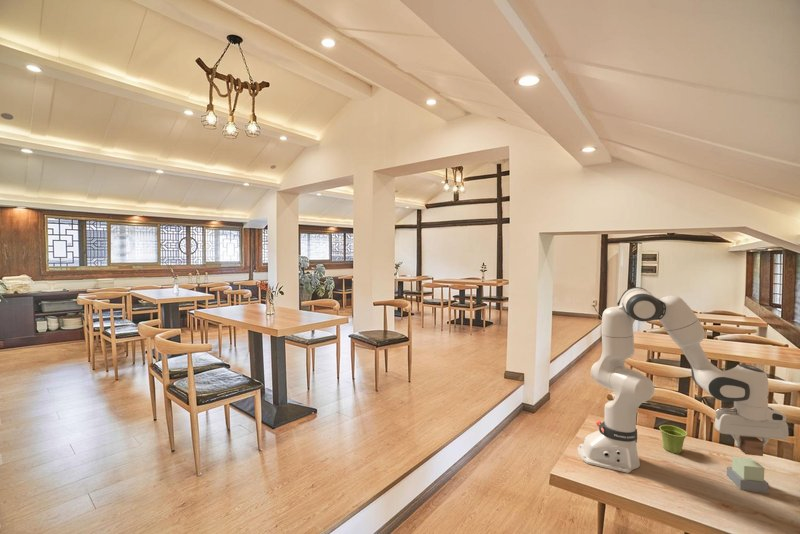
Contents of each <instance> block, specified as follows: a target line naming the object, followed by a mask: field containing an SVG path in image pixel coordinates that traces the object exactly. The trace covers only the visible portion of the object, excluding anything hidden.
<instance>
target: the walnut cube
mask: <svg viewBox="0 0 800 534" xmlns="http://www.w3.org/2000/svg"><path fill="white" fill-rule="evenodd" d="M738 440H740V441H741V442H742V443H743V447H738V446H736V447H737V448H738V449H739V450H740V451H741V452H742V453H743V454H745V455H749V456H758V457H764V449H763V442H762V441H761V439H759V437H751V436H740V435H739V438H738Z"/></svg>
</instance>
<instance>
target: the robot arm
mask: <svg viewBox="0 0 800 534" xmlns="http://www.w3.org/2000/svg"><path fill="white" fill-rule="evenodd" d="M616 305H617V306H610V307H607V308H605V309H604V311H603V312H602V316H601V326H600V327H601V348H602V349H601V354H600V355H601V356H600V358H599V359H598V360H597V361H595V362H594V363H593V364H592V366H591V367H590V376H591V378H592V380H594V382H596V383H597V384H598V385H600V386H602V387H603V388H605V389H608V390H610V391H611V392H614V399H611V400H608V401H607V402H606V403H605V405H604V417H603V418H604V421H603V422H601V420H599V419H597V420H595V424H596V426H597V427H598V430H595V431H593V432H591V433H589V434H587V435H586V436H585V438H584V440H583V443H579V445H578V446H577V453H578V456H579V457H580V458H581V460H582V461H583V462H585V463H586V464H587V465H592V466H597V467H601V468H605V469H609V470H613V471H619V472H624V473H627V474H629V473H631V472H632V471H633V470H636V469H639V468H640V466H641V461H640V459H639V453H638V448H637V442H638V429H637V415H638V414H637V413H638V409H639V407H640V406H641V404H643V403H646V402H647V401H650V400H651V398H653V396H654V394H655V385H654V382H653V381H652V380H651V379H650V378H649V377H647V376H646V375H644V374H643V373H641V372H638V371H635V370H633V369H630V368H628V367H626V365H625V360H626V359H627V360H628V359H629V358H631V357H633V355H634V353H635V339H634V322H635V321H638V322H642V323H643V322H645V323H646V322H650V321H651V322H652V321H659V322H660V324H661V325H662V327H663V329H664V330H665V331H666V333H667V334H668V336H669V337H670V339H671V340H672V341H673V342H674V343H675V344H676V345H677V346H678V347H679V348H680V350H681V352H682V354H683V356H684V357H685V359H686V361H687V362H688V364H689V366H690V371H691V377H692V380H693V382H694V383H695V385H697V386H698V387H699V388H701V389H703V390H704V391H705V392H707V393H708V394H709V395H711V397H713V398H715V399H716V400H718V401H722V402H733V408H730V407H729V408H728V407H727V408H725V407H719V408H718V409H717V410H715V419H714V429H716V431H717V432H718V433H720V434H722V435H730V436H731V437H732V438H733V439H734V445H735V447H737V446H738V447H743V443H742V442H741V441H740V440H738V438H739V435H740V436H751V437H757V438H760V440H761V441H762V442H763V450H765V449H766V445H767V444H768V443H770V442H769V441H770V439H771V440H772V439H773V440H783V441H784V440H787V439H788V437H789V427H788V426H789V425H788V423H787V422H786V421H787V416H786V414H784V413H782V412H781V411H779V410H777V409H776V408H773V407H771V406H769V403H768V396H769V390H770V388H769V379H768V375H767V373H766V372H765V370H762V369H760V368H758V367H755V366H753V365H750V364H744V363H742V364H737V365H736V366H735V367H732V368H729V369H728V370H727V369H726V370H722V369H720V367H717V365H715V364H714V363H712V362H711V361H710V360H709V358H708V356H707V354H706V352H705V351H704V350H703V348H702V347H701V344H700V343H701V342H702V341H703V340H704V339H705V337H706V332H705V329H704V326H703V325H702V323H701V321H700V320H699V318H698V316H697V315H696V314H695V312H694V310H693V309H692V308H691V307H690V305H688V303H686V302H685V300H683V298H681V297H680V296H677V295H666V296H663V297H656V296H654V295H653V294H652V293H651V292H650V291H648V290H647V289H645V288H643V287H638V286H636V287H635V286H633V287H630V288H628V289H626V290H625V291H624V292H623V293H622V295H621V296H620V298H619V300H618V302H617V304H616ZM738 447H737V448H738Z"/></svg>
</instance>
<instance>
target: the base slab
mask: <svg viewBox="0 0 800 534" xmlns="http://www.w3.org/2000/svg"><path fill="white" fill-rule="evenodd" d="M727 476H728V477H729V478H728V477H727ZM726 477H727V478H728V479H729V480H730V481H731V480H732V481H733V482H732V481H731V482H732V483H733V484H734V483H735V484H734V485H735V486H736V487H737V489H739V490H740V491H741V490H742V491H747V492H755V493H762V494H769V483H768V482H767V481H766V480H765V479H764V482H763V481H753V480H744V479H743V478H742V477H740V476H739V475H738V474H737V473H736V472H735V471H734V470H732V466H726Z"/></svg>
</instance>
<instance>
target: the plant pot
mask: <svg viewBox="0 0 800 534" xmlns="http://www.w3.org/2000/svg"><path fill="white" fill-rule="evenodd" d="M659 430H660V433H661V438H662V446H663V448H664V450H665V451H667V452H669V453H671V454H672V453H673V454H680V453H682V451H683V447H684V446H683V445H684V442H685V439H686V437H687V436H688V433H687V431H686V430H684V429H682V428H680V427H678V426H676V425H670V424H662V425H660V426H659Z"/></svg>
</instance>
